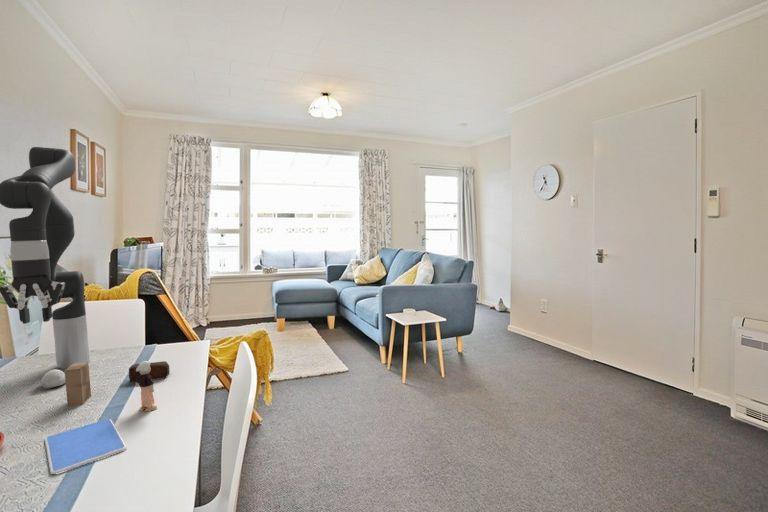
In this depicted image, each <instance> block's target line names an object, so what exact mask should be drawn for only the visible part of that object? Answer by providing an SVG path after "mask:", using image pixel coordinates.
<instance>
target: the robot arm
mask: <svg viewBox="0 0 768 512" xmlns="http://www.w3.org/2000/svg"><path fill="white" fill-rule="evenodd" d="M28 163H29V169H27V170H25V172H23V173H22V174H21V175H18V176H17V175H16V176H13V177H10V178H8V179H5V180H3V181H1V182H0V205H2V207H4V208H6V209H15V210H19V209H24V210H26V209H29V210H30V209H32V211H31V212H30V214H29V215H26V216H22V217H16V218H13V219H11V220H10V221H9V224H8V225H9V227H8V229H9V238H10V247H9V248H10V249H9V250H10V251H9V252H10V257H9V258H10V263H11V271H12V278H13V279H12V282H11V283H10V284H8V285H4V286H0V295H1V296H2V298H3V299H4V301H5V303H6V305H7V306H8V308H10V309H16V310H18V315H19V321H20V322H22V324H24V325H25V324H29V323H30V322H31V316H30V314H31V313H30V308H29V302H30V300H31V298H32V297H37V299H38V301H39V302H40V303H41V306H42V308H41V313H42V314H41V315H42V321H43V323H45V322H49V321H50V320H51V319H52V326H53V328H52V329H53V337H54V340H53V341H54V347H55V360H56V361H55V362H56V368H57V367H58V368H57V369H67V368H68V367H69V366H71V365H72V364H73V363H80V362H88V363H90V360H91V359H90V348H89V347H90V346H89V337H88V336H89V335H88V325H87V314H86V305H85V303H86V301H85V278H84V275H83V273H82V272H81V271H79V270H75V271H74V270H73V271H71V270H70V271H60V272H58V271H57V272H56V267H57V265H58V262H59V260H60V259H61V257H62V255H63V254H64V252H65V251H66V250H67V248H68V247H69V246H70V244H71V243H72V241H73V239H74V238H75V234H76V233H75V232H76V231H75V223H74V215H72V213H71V211H70V210H69V209H68V208H67V206H66V205H64V203H63V202H62V201H61V200H60V199H59V197H58V196H56V194H55V193H54V191H53V190H52V189H53V188H54V187H55V186H56V185H58V184H60V183H62V182H63V181H66V180H67V179H69V178H71V177H72V176H74V174H75V171H76V159H75V157H74V154H73V153H72V152H71V151H70V150H67V149H62V148H54V147H41V146H33V147H31V148H30V150H29V153H28ZM14 289H15V290H16V291H17V292H18V293H19V294H18V297H17V298H16V295H14V291H15V290H14ZM70 298H73V300H71V302H69V303H67V304H65V305H64V306H61V307H58V308H55V309H54V310H52V309H53V308H52V307H53V306H54V305H57V304H59V303H60V302H61V299H70Z"/></svg>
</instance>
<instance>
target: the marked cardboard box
mask: <svg viewBox="0 0 768 512" xmlns="http://www.w3.org/2000/svg"><path fill="white" fill-rule="evenodd" d="M89 365H90V364H89V362H80V363H73V364H72V365H71V366H69V367H68V368H65V369H64V373H65V382H66V383H65V393H66V403H67V407H74V406H80V405H81V406H82V405H84V404H85V403H86V402H87V401H88V399H89V398H90V397H91V396H92V390H91V380H90V366H89Z"/></svg>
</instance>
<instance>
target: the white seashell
mask: <svg viewBox="0 0 768 512" xmlns="http://www.w3.org/2000/svg"><path fill="white" fill-rule="evenodd" d="M40 384H41V387H42V388H44V389H45V390H47V389H52V388H55V387H60V386H62V385H65V384H66V382H65V371H64V372H63V370H61V369H50V370H49V371H47V372H46V373H45V374H44V375H43V376H42V377H41V381H40Z"/></svg>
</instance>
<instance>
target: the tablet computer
mask: <svg viewBox="0 0 768 512" xmlns="http://www.w3.org/2000/svg"><path fill="white" fill-rule="evenodd" d="M44 444H45V450H46V455H47V460H48V465H49V471H50V475H51V474H56V473H59V472H62V471H65V470H69V469H72V468H74V467H77V466H80V465H83V464H86V463H88V462H92V463H94V462H93V461H95V462H97V461H96V460H98V459H101V458H104V457H107V456H109V457H111V456H110V455H112V456H114V455H113V454H115V455H117V454H116V453H118V452H120V453H122V452H121V451H123V450H124V451H126V450H127V448H126V447H127V445H126V444H125V441H124V440H123V437H122V436H121V434H120V432H119V431H118V429H117V426H116V425H115V424H114V422H113V420H112V419H110V418H107V419H102V420H99V421H97V422H92V423H89V424H85V425H83V426H79V427H76V428H71V429H69V430H65V431H62V432H59V433H56V434H52V435H48V436H47V437H45V439H44ZM125 449H126V450H125ZM124 451H123V452H124ZM118 454H119V453H118ZM107 458H108V457H107ZM104 459H105V458H104ZM101 460H102V459H101ZM98 461H99V460H98ZM72 470H73V469H72ZM69 471H70V470H69Z"/></svg>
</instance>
